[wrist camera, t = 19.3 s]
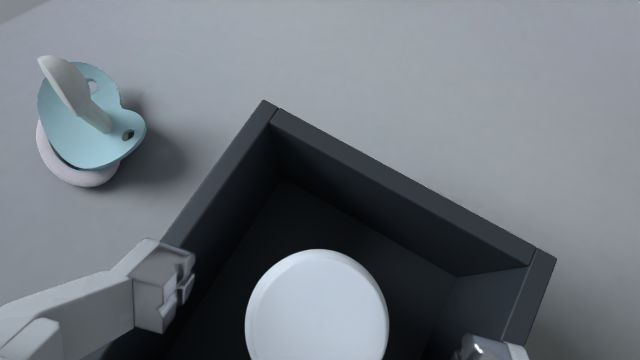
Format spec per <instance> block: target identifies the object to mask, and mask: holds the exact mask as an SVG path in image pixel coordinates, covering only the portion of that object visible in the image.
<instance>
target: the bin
mask: <svg viewBox="0 0 640 360" xmlns="http://www.w3.org/2000/svg"><path fill="white" fill-rule="evenodd" d="M160 242H164V243H167V244H170V245H174V246H177V247H180V248H183V249H186V250H189V251H192V252H194V253H195V254H196V263H195V264H194V266H193V267H192V270H193V272H194V273H195V280H194V285H193V288H192V290H191V293H190V295H189V297H188V299H187V300H186V302H185V303H184V305H182V306H180V307H177V308H176V316H175V318H174V319H173V321H172V322H171V323H170V325H169V326H168V328H167V329H166V331H165V332H164V333H163V334H160V333H156V332H152V331H149V330H145V329H142V328H138V327H134V328H133V329H132V330H130V331H128V332H126V333H125V334H123V335H121V336H120V337H118V338H116V339H114V340H113V341H111V342H109V343H108V344H106V345H104V346H102V347H101V348H99V349H97V350H96V351H94V352H92V353H90V354H89V355H87V356H85V357H83V358H82V359H80V360H252V359H251V357H250V354H249V351H248V347H247V343H246V337H245V316H246V311H247V306H248V303H249V300H250V297H251V294H252V292H253V290H254V288H255V287H256V285H257V283H258V282H259V280H260V279H261V278H262V276H263V275H264V274H265V273H266V272H267V271H268V270H269V269H270V268H271V267H272V266H274V265H275V264H276V263H278V262H279V261H281V260H282V259H284V258H286V257H288V256H290V255H292V254H295V253H298V252H301V251H305V250H311V249H325V250H331V251H336V252H339V253H342V254H344V255H346V256H348V257H350V258H352V259H354V260H355V261H357V262H358V263H359V264H361V265H362V266H363V267H364V268H365V269H366V270H367V271H368V272H369V273H370V274H371V276H372V277H373V278H374V280H375V281H376V283H377V284H378V286H379V288H380V290H381V292H382V294H383V296H384V299H385V302H386V306H387V309H388V316H389V337H388V343H387V347H386V350H385V354H384V356H383V358H382V360H451V357H452V355H453V353H454V352H455V350H457V349H460V348H462V343H461V339H462V337H463V336H464V334H465V333H467V332H468V331H469V332H472V333H476V334H479V335H483V336H486V337H490V338H493V339H497V340H501V341H503V342H504V341H505V342H508V343H512V344H516V345H519V346H523V348H524V346H525V343H526V341H527V338H528V336H529V333H530V330H531V328H532V325H533V322H534V320H535V317H536V314H537V312H538V309H539V306H540V304H541V301H542V298H543V296H544V293H545V290H546V288H547V285H548V283H549V280H550V277H551V275H552V272H553V269H554V267H555V264H556V261H557V258H555V257H554V256H552V255H550V254H548V253H546V252H544V251H542V250H541V249H539V248H536V247H535V246H533V245H532V244H530V243H528V242H526V241H524V240H522V239H521V238H519V237H517V236H515V235H513V234H511V233H509V232H508V231H506V230H504V229H502V228H500V227H498V226H497V225H495V224H493V223H491V222H489V221H487V220H486V219H484V218H482V217H480V216H478V215H476V214H474V213H473V212H471V211H469V210H467V209H465V208H463V207H462V206H460V205H458V204H456V203H454V202H452V201H451V200H449V199H447V198H445V197H443V196H441V195H439V194H438V193H436V192H434V191H432V190H430V189H428V188H427V187H425V186H423V185H421V184H419V183H417V182H416V181H414V180H412V179H410V178H408V177H406V176H404V175H403V174H401V173H399V172H397V171H395V170H393V169H392V168H390V167H388V166H386V165H384V164H382V163H381V162H379V161H377V160H375V159H373V158H371V157H369V156H368V155H366V154H364V153H362V152H360V151H358V150H357V149H355V148H353V147H351V146H349V145H347V144H346V143H344V142H342V141H340V140H338V139H336V138H334V137H333V136H331V135H329V134H327V133H325V132H323V131H322V130H320V129H318V128H316V127H314V126H312V125H311V124H309V123H307V122H305V121H303V120H301V119H299V118H298V117H296V116H294V115H292V114H290V113H288V112H287V111H285V110H283V109H281V108H278V107H277V106H275V105H273V104H271V103H269V102H268V101H266V100H262V102H261V103H260V104H259V106H258V107H257V108H256V110H255V111H254V113H253V114H252V115H251V117H250V118H249V119H248V121H247V122H246V123H245V125H244V126H243V128H242V129H241V130H240V132H239V133H238V134H237V136H236V137H235V139H234V140H233V141H232V143H231V144H230V145H229V147H228V148H227V150H226V151H225V152H224V154H223V155H222V156H221V158H220V159H219V161H218V162H217V163H216V165H215V166H214V167H213V169H212V170H211V172H210V173H209V174H208V176H207V177H206V178H205V180H204V181H203V183H202V184H201V185H200V187H199V188H198V189H197V191H196V192H195V194H194V195H193V196H192V198H191V199H190V200H189V202H188V203H187V205H186V206H185V207H184V209H183V210H182V211H181V213H180V214H179V216H178V217H177V218H176V220H175V221H174V222H173V224H172V225H171V227H170V228H169V229H168V231H167V232H166V233H165V235H164V236H163V238H162V239H161V240H160Z"/></svg>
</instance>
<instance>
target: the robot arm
mask: <svg viewBox="0 0 640 360" xmlns="http://www.w3.org/2000/svg"><path fill="white" fill-rule="evenodd" d="M195 263H196V254H195V253H194V252H192V251H189V250H186V249H183V248H180V247H177V246H174V245H170V244H167V243H164V242H160V241H157V240H153V239H150V238H146V239H143V240H142V241H141V242H140V243H139V244H137V245H136V246H135V247H134V248H133V249H132V250H131V251H130V252H129V253H128V254H127V255H126V256H125V257H124V258H123V259H121V260H120V261H119V262H118V263H117V264H116V265H115V266H114V267H113V268H112V269H111V270H110V271H105V270H103V271H100V272H97V273H94V274H91V275H88V276H85V277H82V278H79V279H76V280H73V281H70V282H68V283H65V284H62V285H59V286H56V287H53V288H50V289H47V290H44V291H41V292H38V293H35V294H32V295H29V296H26V297H23V298H20V299H17V300H14V301H11V302H8V303H6V304H4V305H3V306H2V307H0V360H80V359H82V358H83V357H85V356H87V355H89V354H90V353H92V352H94V351H96V350H97V349H99V348H101V347H102V346H104V345H106V344H108V343H109V342H111V341H113V340H114V339H116V338H118V337H120V336H121V335H123V334H125V333H126V332H128V331H130V330H132V329H133V328H134V327H138V328H142V329H145V330H149V331H152V332H156V333H160V334H163V333H164V332H165V331H166V329H167V328H168V326H169V325H170V323H171V322H172V321H173V319H174V318H175V316H176V308H177V307H180V306H182V305H184V303H185V302H186V300H187V299H188V297H189V295H190V293H191V290H192V288H193V285H194V280H195V273H194V272H193V270H192V267H193V266H194V264H195ZM461 343H462V348H460V349H457V350H455V352H454V353H453V355H452V357H451V360H529V357H528V354H527V352H526V350H525V349H524V348H523V346H519V345H516V344H512V343H508V342H505V341H504V342H503V341H501V340H497V339H493V338H490V337H486V336H483V335H479V334H476V333H472V332H469V331H468V332H467V333H465V334H464V336H463V337H462V339H461Z"/></svg>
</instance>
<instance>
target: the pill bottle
mask: <svg viewBox="0 0 640 360" xmlns="http://www.w3.org/2000/svg"><path fill="white" fill-rule="evenodd" d="M245 337H246V343H247V347H248V351H249V354H250V357H251V359H252V360H382V358H383V356H384V354H385V350H386V347H387V343H388V337H389V316H388V309H387V306H386V302H385V299H384V296H383V294H382V292H381V290H380V288H379V286H378V284H377V283H376V281H375V280H374V278H373V277H372V276H371V274H370V273H369V272H368V271H367V270H366V269H365V268H364V267H363V266H362V265H361V264H359V263H358V262H357V261H355V260H354V259H352V258H350V257H348V256H346V255H344V254H342V253H339V252H336V251H331V250H325V249H311V250H305V251H301V252H298V253H295V254H292V255H290V256H288V257H286V258H284V259H282V260H281V261H279V262H278V263H276V264H275V265H274V266H272V267H271V268H270V269H269V270H268V271H267V272H266V273H265V274H264V275H263V276H262V278H261V279H260V280H259V282H258V283H257V285H256V287H255V288H254V290H253V292H252V294H251V297H250V300H249V303H248V306H247V311H246V316H245Z"/></svg>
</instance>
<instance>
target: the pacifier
mask: <svg viewBox="0 0 640 360" xmlns="http://www.w3.org/2000/svg"><path fill="white" fill-rule="evenodd" d="M38 62H39V64H40V67H41V69H42V71H43V72H44V74H45V76H46V78H45V79H44V80H43V82H42V85H41V87H40V90H39V93H38V104H37V105H38V112H39V116H40V119H39V121H38V125H37V129H36V142H37V146H38V150H39V153H40V155H41V157H42V159H43V160H44V162H45V164H46V165H47V166H48V168H49V169H50V170H51V171H52V172H53V173H54V174H55V175H56V176H58V177H59V178H60V179H62V180H63V181H65V182H67V183H69V184H72V185H74V186H79V187H86V188H87V187H94V186H99V185H101V184H103V183H105V182H107V181H108V180H109V179H110V178H111V177H112V176H113V175H114V174H115V173H116V171H117V169H118V167H119V165H120V160H121V159H123V158H125V157H126V156H128V155H129V154H130V153H131V152H132V151H134V150H135V149H136V148H137V147H138V146H139V144H140V143H141V142H142V140H143V139H144V137H145V134H146V124H145V122H144V120H143V118H142V117H141V116H140V115H139V114H137V113H136V112H133V111H130V110H125V109H123V108H122V106H121V105H122V104H121V97H120V93H119V91H118V89H117V87H116V85H115V84H114V82H113V81H112V79H111V78H110V77H109V76H108V75H107V74H106V73H105V72H103V71H102V70H100V69H98V68H97V67H94V66H92V65H90V64H86V63H81V62H68V61H67V60H65V59H62V58H60V57H56V56H49V55H48V56H41V57H39V58H38ZM89 81H94V82H96V83H97V85H98V89H97V91H96V92H95V93H93V94H91V93H90V88H89V85H88V83H87V82H89ZM132 131H135V133H134V136H133V137H132V138H131V139H130V140H128V133H129V132H132ZM61 157H62V158H64V159H65V160H66V161H67V162H69V163H70V164H72V165H74V166H76V167H79V168H82V169H87V170H92V171H85V172H84V171H78V170H75V169H73V168H71V167H70V166H69V165H67V164H66V162H65V161H64V160H63V159H62V158H61Z"/></svg>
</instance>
